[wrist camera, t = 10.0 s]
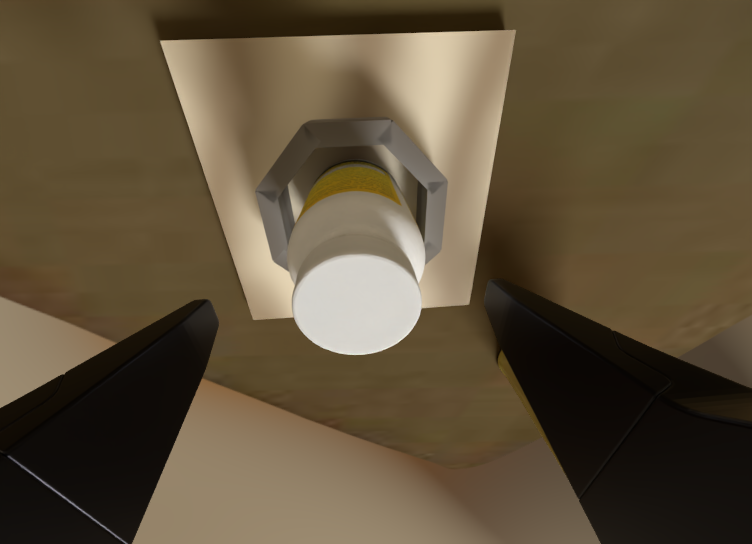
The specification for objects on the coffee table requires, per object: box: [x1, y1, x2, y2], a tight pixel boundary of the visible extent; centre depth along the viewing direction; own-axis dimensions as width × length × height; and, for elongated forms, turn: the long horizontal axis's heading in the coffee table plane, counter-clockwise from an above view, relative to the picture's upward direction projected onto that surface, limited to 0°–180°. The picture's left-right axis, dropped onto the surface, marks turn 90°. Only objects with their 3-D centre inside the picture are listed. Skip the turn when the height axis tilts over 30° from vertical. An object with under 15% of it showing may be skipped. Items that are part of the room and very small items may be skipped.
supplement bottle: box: [287, 159, 425, 355], centre depth 13 cm, size 5×5×10 cm
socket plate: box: [160, 30, 516, 320], centre depth 16 cm, size 16×16×4 cm
